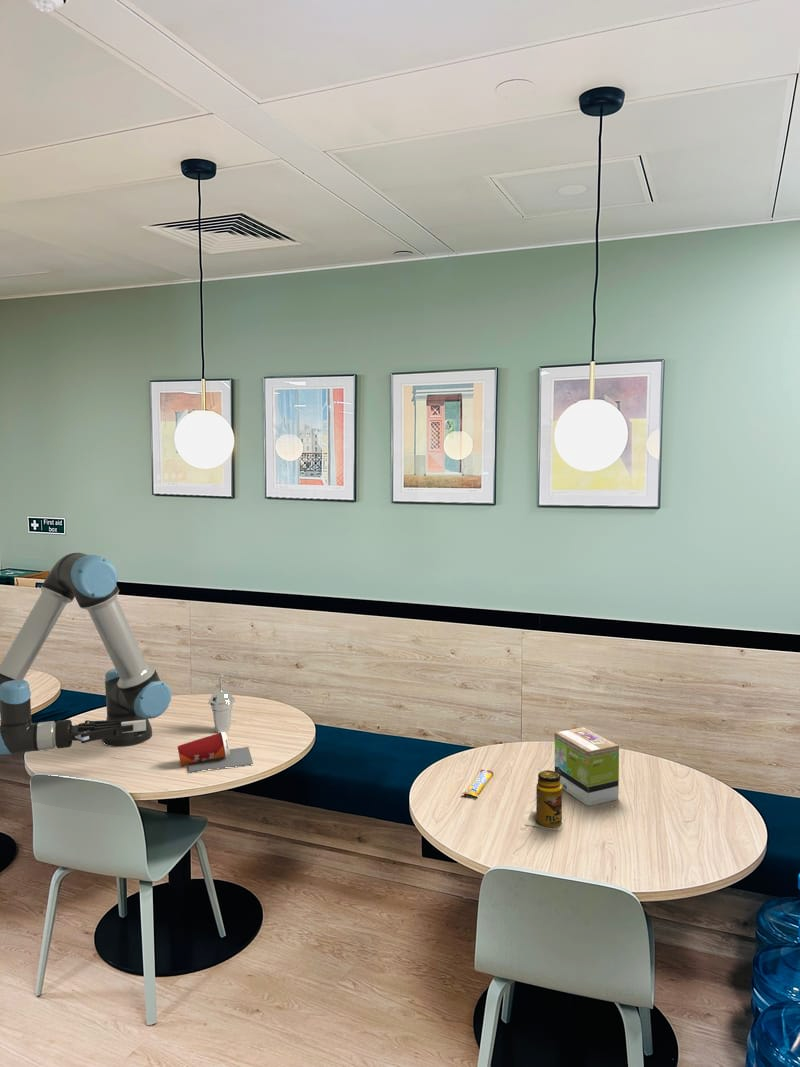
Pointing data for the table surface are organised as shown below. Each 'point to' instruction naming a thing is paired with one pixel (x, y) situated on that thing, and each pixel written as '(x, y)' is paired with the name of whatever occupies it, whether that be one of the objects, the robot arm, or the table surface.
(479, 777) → the candy bar
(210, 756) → the paper cup
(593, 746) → the tea box
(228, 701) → the cup with straw
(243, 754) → the mat
